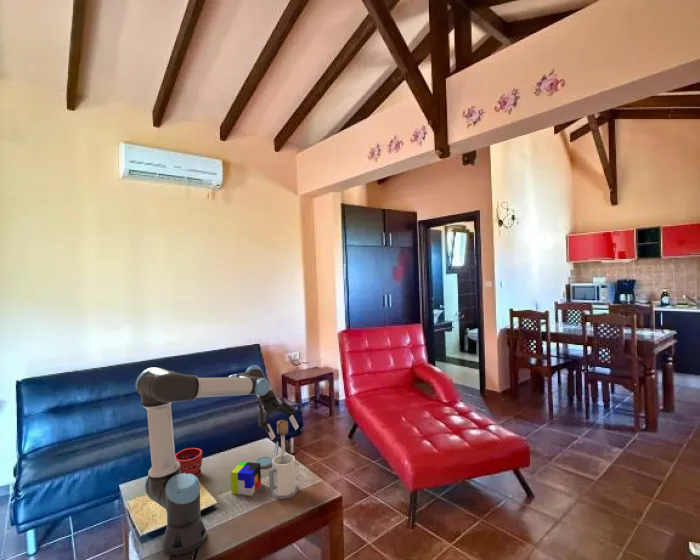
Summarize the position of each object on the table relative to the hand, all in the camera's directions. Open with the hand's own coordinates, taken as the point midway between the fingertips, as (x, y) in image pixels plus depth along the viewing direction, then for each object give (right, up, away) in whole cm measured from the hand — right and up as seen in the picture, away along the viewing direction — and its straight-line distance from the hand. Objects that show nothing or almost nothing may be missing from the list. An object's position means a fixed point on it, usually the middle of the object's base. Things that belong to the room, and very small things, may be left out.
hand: (285, 433), depth 173 cm
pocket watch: (-16, -28, +28) cm, 43 cm away
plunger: (-1, -17, +2) cm, 17 cm away
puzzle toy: (-19, -29, +5) cm, 35 cm away
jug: (-1, -28, +2) cm, 28 cm away
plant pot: (-52, -29, +17) cm, 62 cm away
